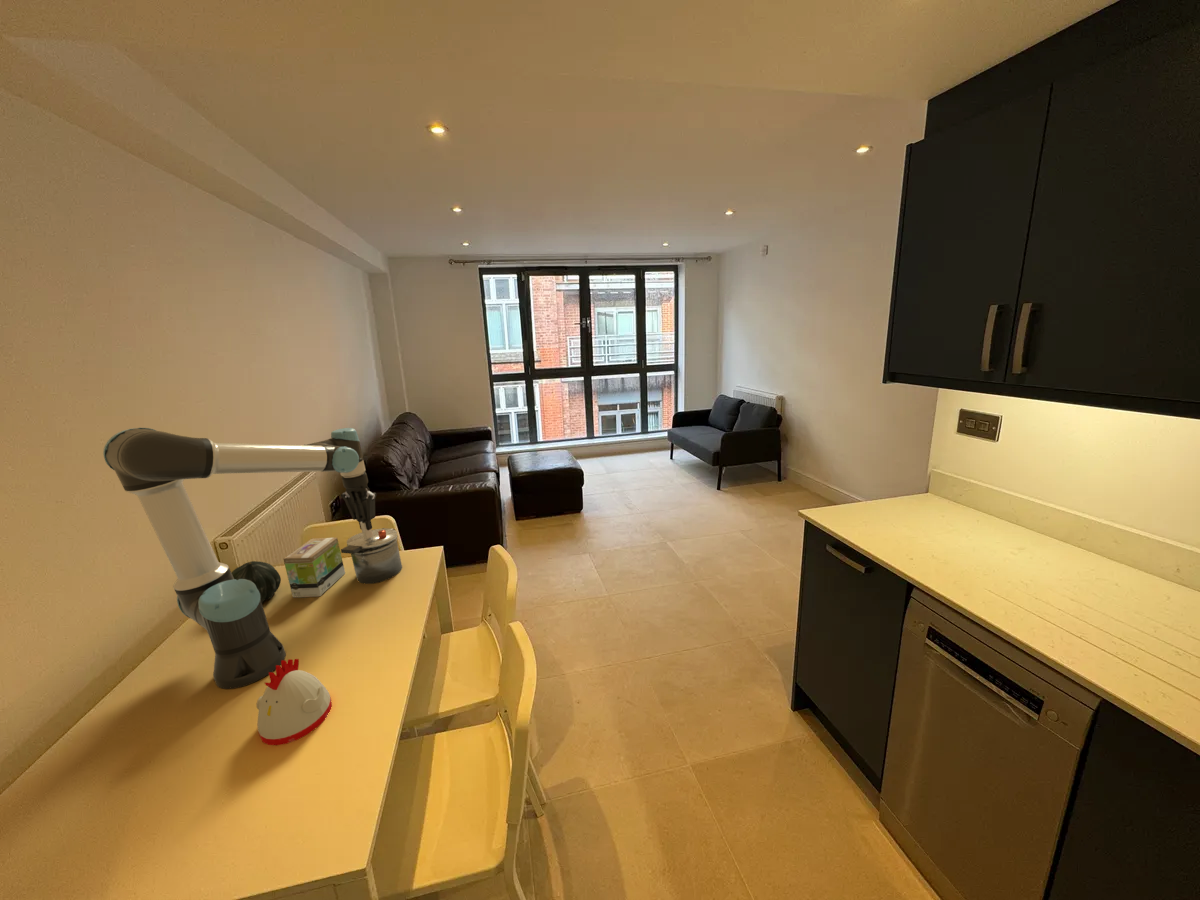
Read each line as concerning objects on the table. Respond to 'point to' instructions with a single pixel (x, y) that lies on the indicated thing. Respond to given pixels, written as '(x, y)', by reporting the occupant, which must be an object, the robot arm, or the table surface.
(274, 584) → the squash
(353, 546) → the lid
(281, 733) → the kitchen timer
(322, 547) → the tea box
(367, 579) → the pot
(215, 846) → the table surface
